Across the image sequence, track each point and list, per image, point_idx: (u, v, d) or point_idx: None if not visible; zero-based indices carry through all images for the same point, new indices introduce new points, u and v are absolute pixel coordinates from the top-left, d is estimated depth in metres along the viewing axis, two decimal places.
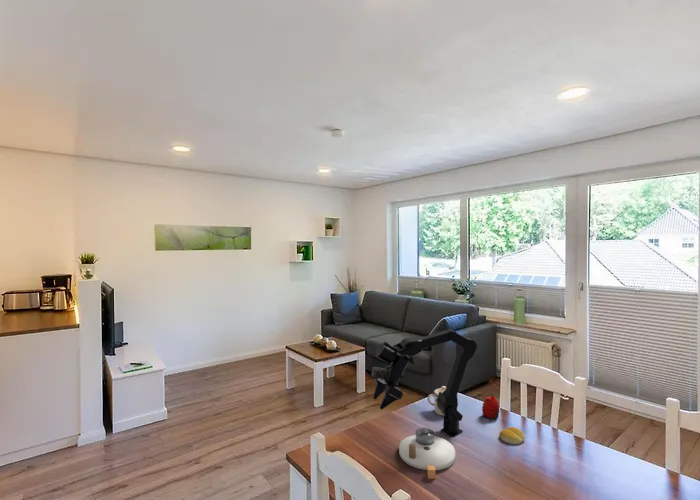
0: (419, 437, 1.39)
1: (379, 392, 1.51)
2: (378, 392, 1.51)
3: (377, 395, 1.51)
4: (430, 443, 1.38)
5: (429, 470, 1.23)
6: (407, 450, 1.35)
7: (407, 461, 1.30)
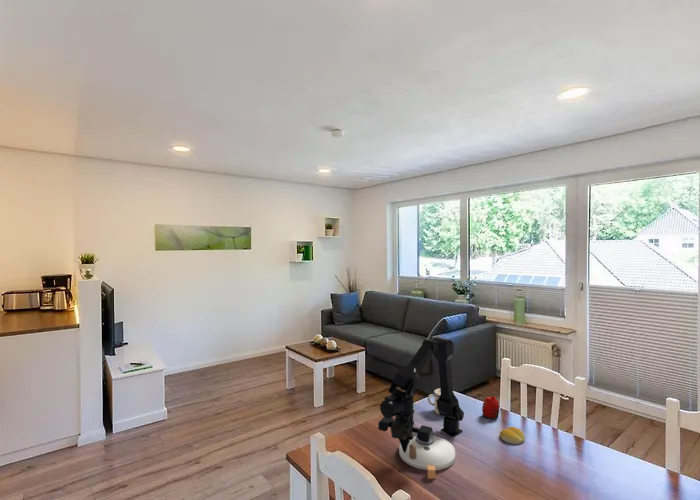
0: None
1: None
2: None
3: None
4: (430, 443, 1.38)
5: (429, 470, 1.23)
6: (407, 450, 1.35)
7: (408, 461, 1.30)
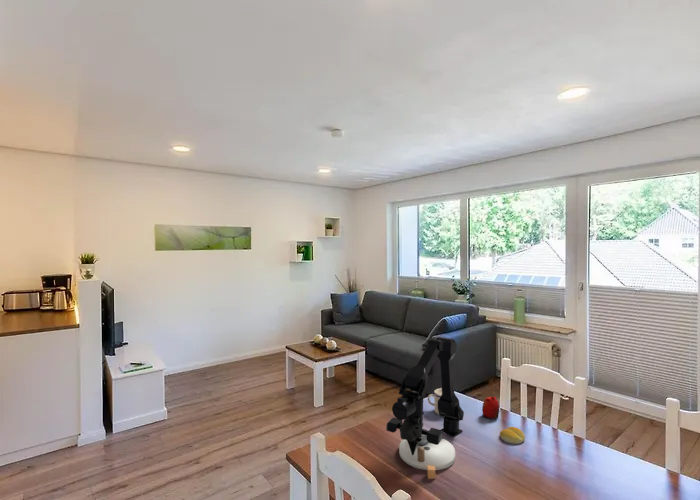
0: None
1: None
2: None
3: None
4: (427, 442, 1.39)
5: (429, 470, 1.23)
6: (411, 454, 1.32)
7: (418, 466, 1.27)
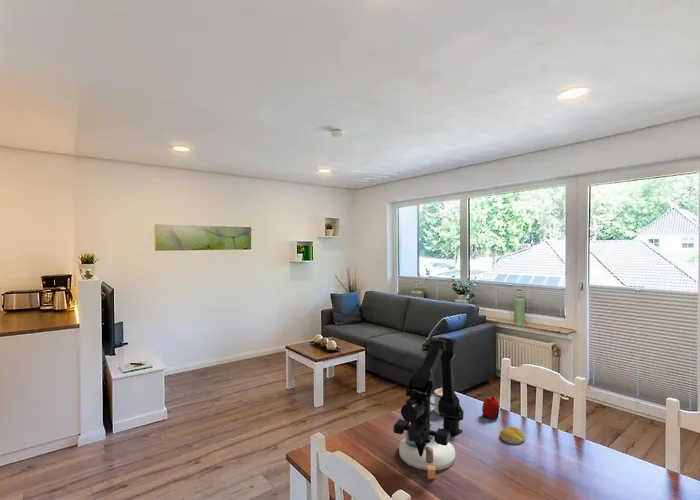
0: None
1: None
2: None
3: None
4: None
5: (429, 470, 1.23)
6: (417, 458, 1.30)
7: None
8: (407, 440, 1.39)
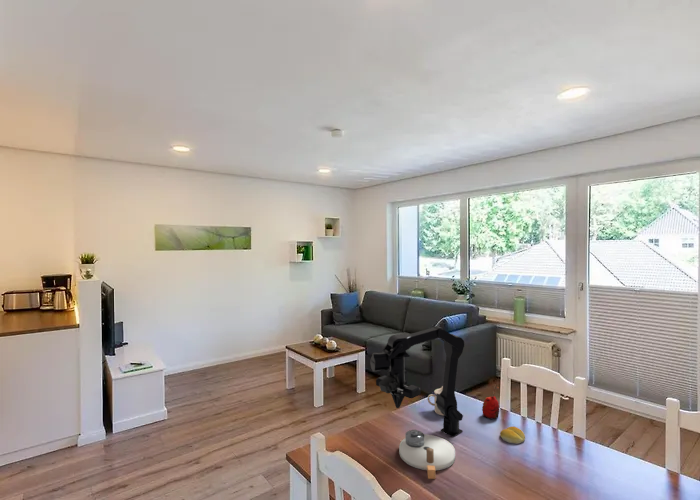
0: (416, 441, 1.37)
1: None
2: None
3: None
4: None
5: (429, 470, 1.23)
6: (418, 458, 1.30)
7: None
8: (407, 440, 1.39)
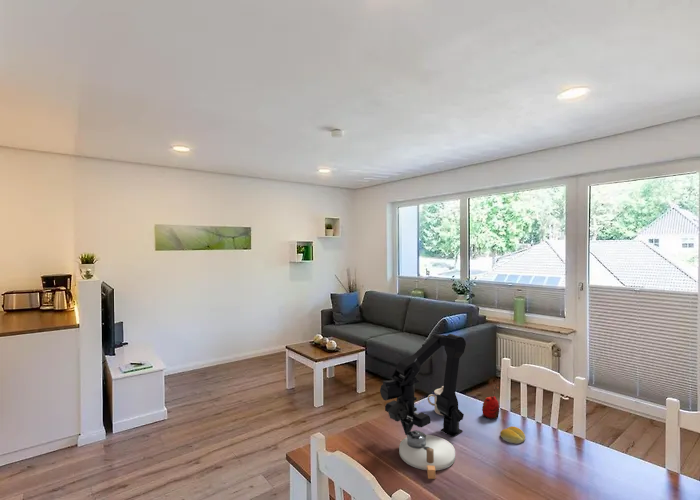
0: (417, 441, 1.36)
1: None
2: None
3: None
4: (425, 443, 1.38)
5: (429, 470, 1.23)
6: (418, 458, 1.30)
7: None
8: (408, 441, 1.38)
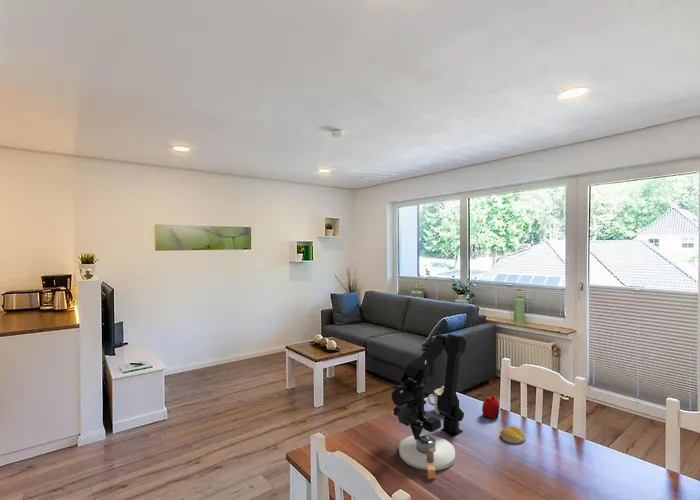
0: (427, 447, 1.33)
1: None
2: None
3: None
4: (435, 448, 1.35)
5: (429, 470, 1.23)
6: (418, 458, 1.30)
7: None
8: (418, 446, 1.34)
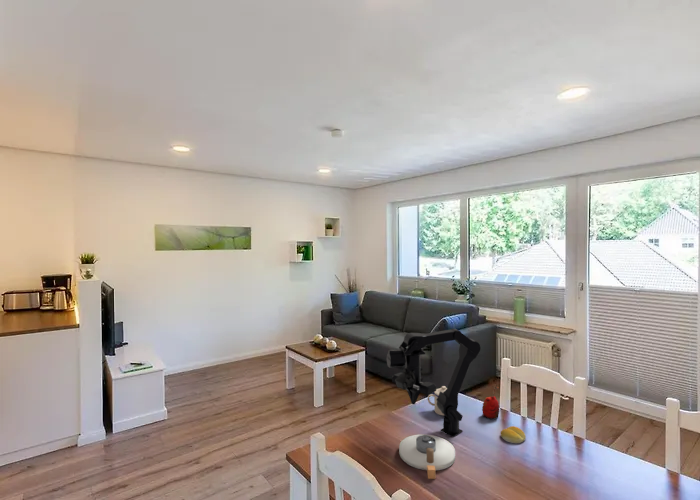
0: (427, 447, 1.33)
1: None
2: None
3: None
4: (435, 448, 1.35)
5: (429, 470, 1.23)
6: (418, 458, 1.30)
7: None
8: (418, 446, 1.34)
